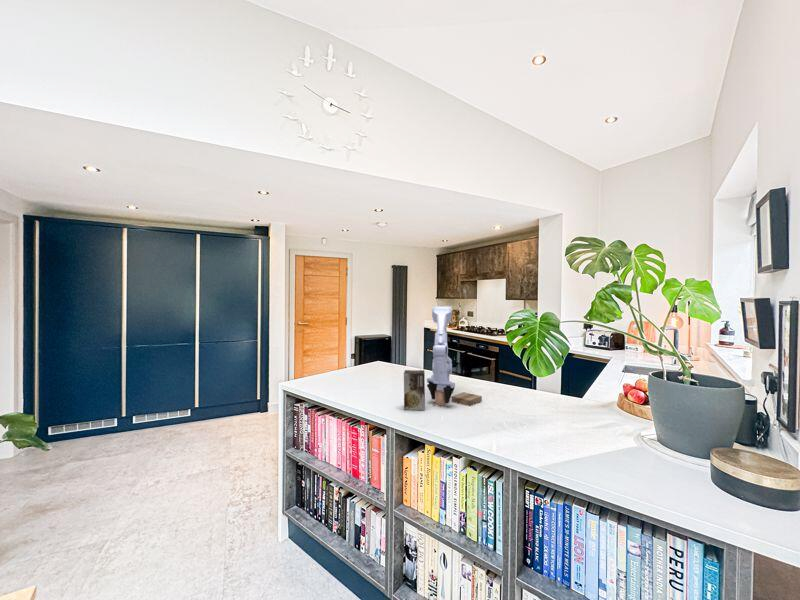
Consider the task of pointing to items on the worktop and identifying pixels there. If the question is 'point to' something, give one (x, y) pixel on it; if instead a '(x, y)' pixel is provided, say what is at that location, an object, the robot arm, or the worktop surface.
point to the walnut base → (466, 398)
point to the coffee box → (414, 390)
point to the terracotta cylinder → (440, 398)
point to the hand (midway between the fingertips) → (440, 400)
